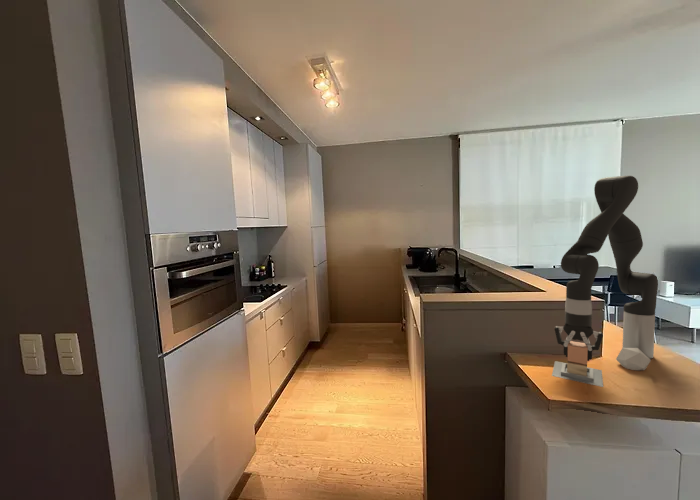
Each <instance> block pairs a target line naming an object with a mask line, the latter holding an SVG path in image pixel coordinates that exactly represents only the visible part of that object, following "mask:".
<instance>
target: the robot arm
mask: <svg viewBox="0 0 700 500" xmlns="http://www.w3.org/2000/svg"><path fill="white" fill-rule="evenodd" d="M593 189H594V197H595V201H596V202H597V205H598V208H599V210H600V213H599V214H598V215H597V216H595V217H594V218H592V219H591V220H590V221H588V223H586V225H585V226H584V228H583V230H582V231H581V233H580V235H579V237H578V240H577V241H576V242H575V243H574V244H573V245H572V246H571V247H570V248H569V249H568V250H567V251H566V252H565V253H564V255H562V258H561V260H560V268H561V270H562V271H563V272H565V273H567V274H574V275H579V278H578V279H576V280H570V281H568V282H566V287H565V288H566V289H565V292H566V293H565V303H564V306H565V307H564V325H563V326H558V325H555V326H554V333H555V336H556V338H555V339H556V342H557V344H558V345H562V346H563V355H564V356H565V357H566V358H568V344H569V343H570V341H575V340H576V341H577V340H578V341H579V342H580V341H581V342H583V343H585V345H586V347H588V354H587V362H590V360H593V359H592V358H593V351H598V350H599V349H600V347H601V343H602V340H603V337H604V335H603V334H604V333H603V332H602V331H596V330H594V329H593V327H592V323H593V322H592V321H593V320H592V319H593V318H592V317H593V304H592V287H593V284H594V282H595V279H596V276H597V273H598V271H599V266H600V265H599V260H598V259H597V258H596V256H594V255H592V254H595V253H599V252H600V250H601V249H602V247H603V245H604V244H605V241H606V239H607V237H608V241H609V243H610V247H611V251H612V253H613V257H614V262H615V266H616V267H615V268H616V274H617V275H616V276H617V281H618V287H619V289H620V291H621V292H622V293H623V294H625V295H631V296H636V297H639V296H640V297H641V300H639V301H635V302H634V301H633V302H626V303H625V304H624V305H623V318H622V319H623V320H622V321H623V323H622V347H621V349H622V348H638V349H639V350H640V351H642V352H643V353H644V354H645V355H646V356H647V357H648V358H649V359H650V360H651V359H654V348H655V328H656V327H655V326H656V325H655V324H656V308H657V307H656V306H657V296H658V289H659V279H658V276H656V274H654V273H650V272H639V271H638V272H636V271H632V269H631V264H632V263H633V261H634V260H635V259H636V257H637V256H638V255H639V254H640V252H641V251H642V249H643V246H644V243H643V237H642V233H641V230H640V228H639V227H638V225H637V224H636V223H635V222H634V221H633V220H632V219H630V218H629V217H628V216H627V215H626V214H625V213H624V212H626V210H627V208H629V206H630V205H631V203H632V202H633V201H634V199H635V198H636V196H637V193H638V191H639V181H638V179H637V178H636V177H635V176H633V175H621V176H619V175H618V176H607V177H602V178H599V179H597V180H596V182H595V185H594V188H593ZM563 331H564V332H565V334H566V335H567V336H566V338H565V339H564V340H563V339H562V332H563ZM592 335H593V336H594V338H595V342H594V344H593V345H592V343H591V342H590V339H589V338H590V337H591V336H592Z"/></svg>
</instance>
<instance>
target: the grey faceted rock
mask: <svg viewBox="0 0 700 500" xmlns="http://www.w3.org/2000/svg"><path fill="white" fill-rule="evenodd" d="M615 360H616V361H617V362H618V363H619V364H620V365H621V366H622V367H623V368H625V369H627V370H632V371H645V370H646V369H647V367H648V366H649V364H651V361H652V360H651V359H649V358H648V357H647V356H646V355H645V354H644V353H643V352H642V351H640V350H639V349H638V348H622V347H621V350H620V351H619V353H618V355H617V356H616V358H615Z"/></svg>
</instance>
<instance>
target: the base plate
mask: <svg viewBox="0 0 700 500" xmlns="http://www.w3.org/2000/svg"><path fill="white" fill-rule="evenodd" d="M551 377H556V378H560V379H565V380H569V381H575V382H578V383H583V384H587V385H591V386H597V387H600V388H601V387H602V388H604V379H603V378H604V377H603V370H602V369H597V368H592V367H588V366H587V376H583V375H579V374H574V373H569V372H567V362H562V361H557V360H556V361H554V364H553V369H552V373H551Z"/></svg>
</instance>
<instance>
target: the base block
mask: <svg viewBox="0 0 700 500" xmlns="http://www.w3.org/2000/svg"><path fill="white" fill-rule="evenodd" d="M566 363H567V372H569V373H574V374H579V375H583V376H587V367H588V363H587V364H582V363H576V362H571V361H568V360H567V362H566Z"/></svg>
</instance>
